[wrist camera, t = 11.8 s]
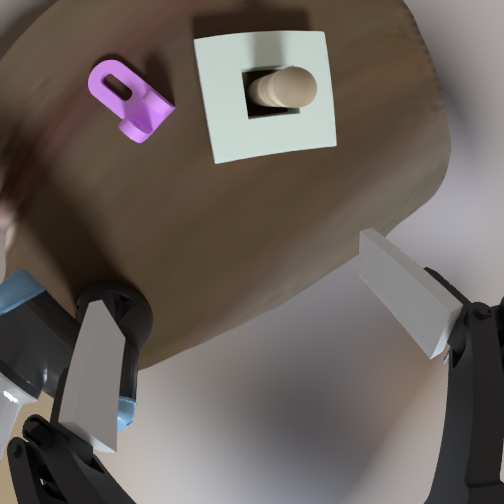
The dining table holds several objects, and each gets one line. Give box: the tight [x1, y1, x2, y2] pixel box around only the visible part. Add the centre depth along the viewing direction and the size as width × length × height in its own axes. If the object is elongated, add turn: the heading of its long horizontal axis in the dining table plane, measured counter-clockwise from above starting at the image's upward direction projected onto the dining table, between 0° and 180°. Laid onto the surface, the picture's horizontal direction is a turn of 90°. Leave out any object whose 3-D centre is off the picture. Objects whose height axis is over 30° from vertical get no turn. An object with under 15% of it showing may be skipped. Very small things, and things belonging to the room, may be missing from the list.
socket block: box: [194, 31, 336, 164], centre depth 31 cm, size 16×16×5 cm
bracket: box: [88, 60, 176, 143], centre depth 27 cm, size 13×6×7 cm, turn 43°
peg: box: [247, 67, 317, 108], centre depth 27 cm, size 4×4×14 cm
